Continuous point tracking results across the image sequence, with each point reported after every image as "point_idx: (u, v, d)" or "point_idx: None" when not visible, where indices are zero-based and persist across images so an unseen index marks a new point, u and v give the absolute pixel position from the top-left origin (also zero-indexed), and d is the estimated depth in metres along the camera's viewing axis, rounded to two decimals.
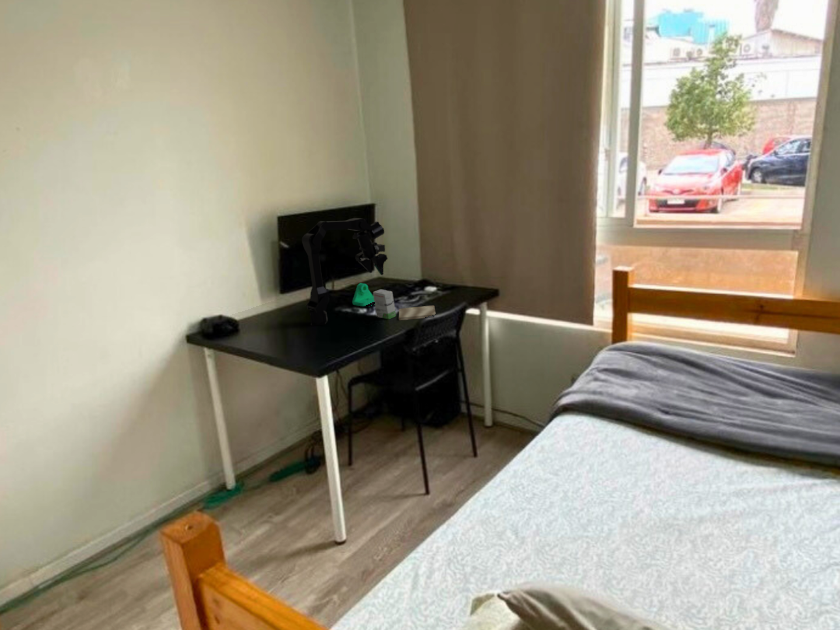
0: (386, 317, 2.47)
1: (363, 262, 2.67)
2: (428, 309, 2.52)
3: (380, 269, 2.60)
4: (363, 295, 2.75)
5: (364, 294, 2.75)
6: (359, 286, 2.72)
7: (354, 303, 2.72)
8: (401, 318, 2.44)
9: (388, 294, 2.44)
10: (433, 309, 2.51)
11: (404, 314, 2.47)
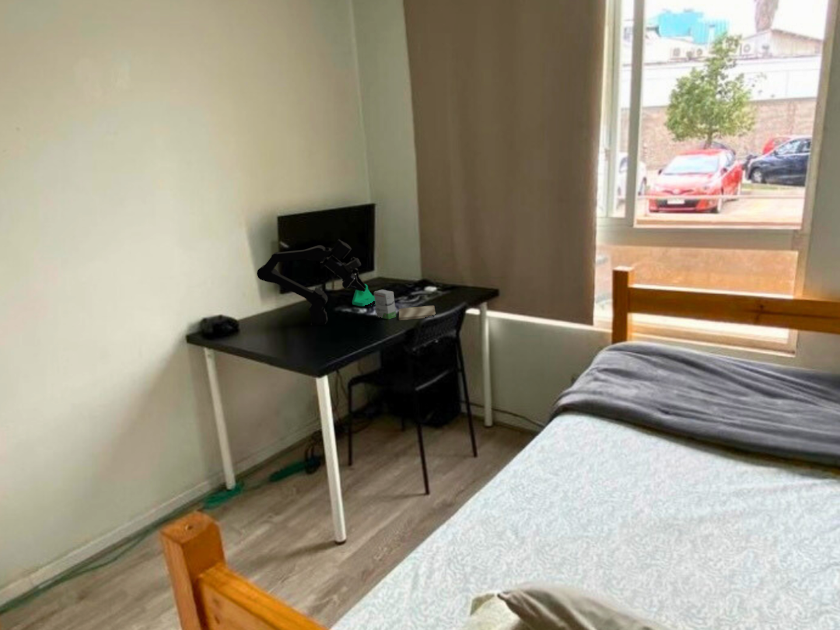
0: (386, 317, 2.47)
1: None
2: (428, 309, 2.52)
3: (357, 288, 2.42)
4: (362, 295, 2.75)
5: (364, 294, 2.76)
6: None
7: (354, 303, 2.72)
8: (401, 318, 2.44)
9: (389, 294, 2.45)
10: (433, 309, 2.51)
11: (404, 314, 2.47)
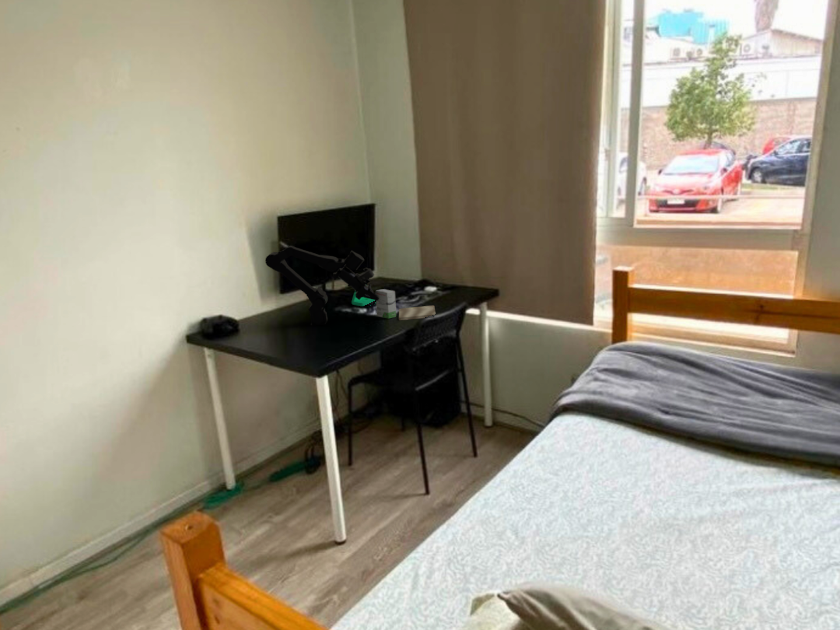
0: (386, 316, 2.47)
1: None
2: (428, 309, 2.52)
3: (371, 297, 2.46)
4: None
5: None
6: None
7: (353, 303, 2.72)
8: (401, 318, 2.44)
9: (390, 293, 2.45)
10: (433, 309, 2.51)
11: (404, 314, 2.47)
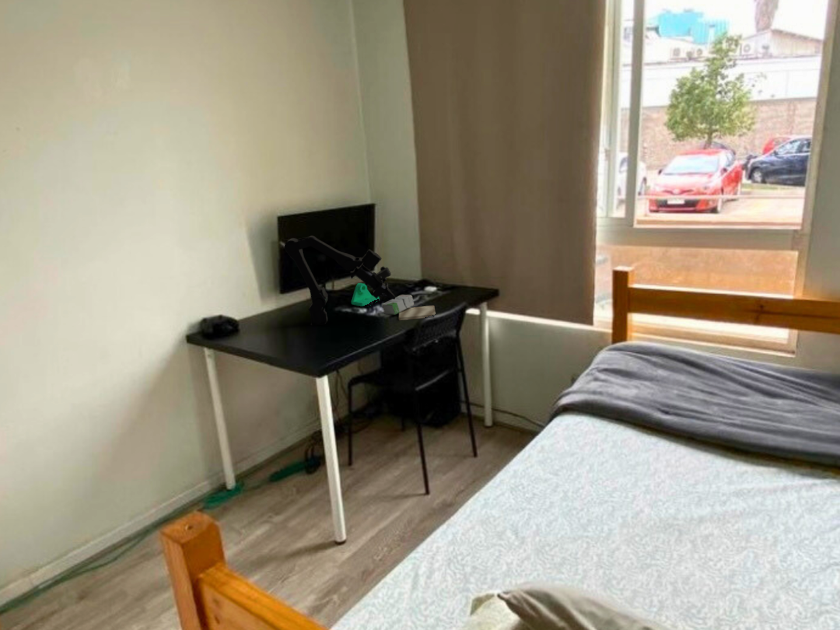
0: (391, 304, 2.49)
1: None
2: (428, 309, 2.52)
3: (388, 295, 2.46)
4: (362, 295, 2.76)
5: (363, 294, 2.76)
6: (358, 286, 2.73)
7: (353, 303, 2.72)
8: (401, 318, 2.44)
9: (412, 300, 2.54)
10: (433, 309, 2.51)
11: (404, 314, 2.47)
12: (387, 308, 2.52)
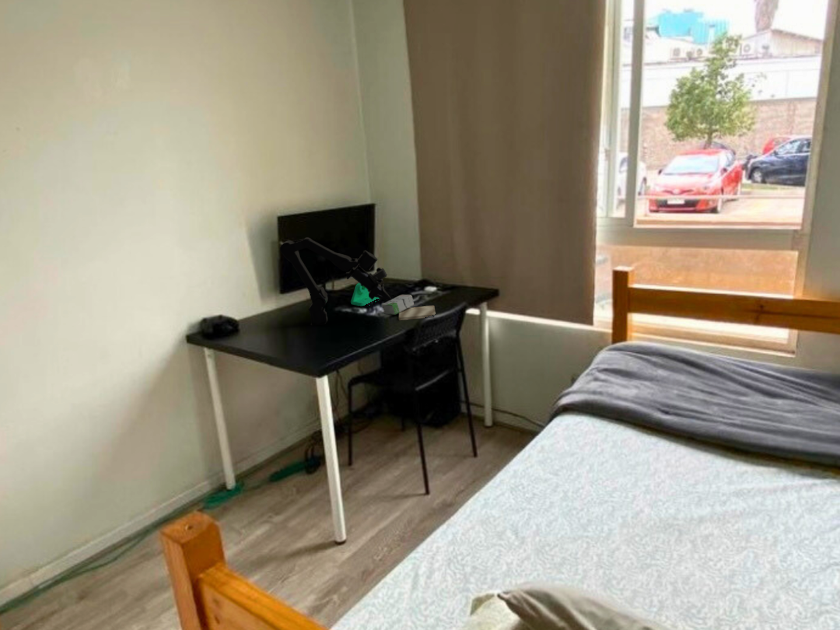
0: (391, 304, 2.49)
1: None
2: (428, 309, 2.52)
3: (383, 296, 2.46)
4: (361, 295, 2.76)
5: (363, 294, 2.76)
6: (358, 286, 2.73)
7: (353, 303, 2.72)
8: (401, 318, 2.44)
9: (411, 300, 2.54)
10: (433, 309, 2.51)
11: (404, 314, 2.47)
12: (387, 308, 2.52)
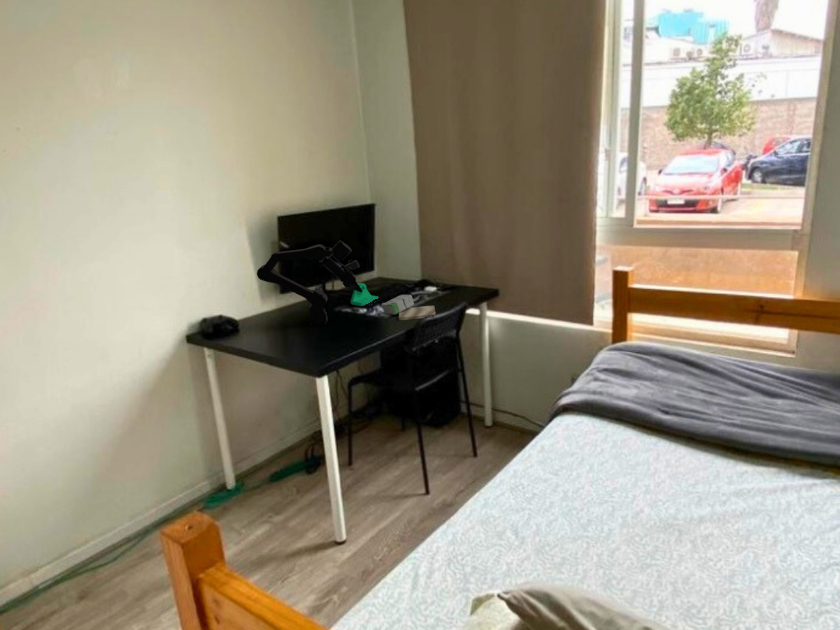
0: (391, 304, 2.49)
1: None
2: (428, 309, 2.52)
3: (355, 288, 2.46)
4: (361, 295, 2.76)
5: (362, 294, 2.76)
6: None
7: (352, 303, 2.73)
8: (401, 318, 2.44)
9: (411, 300, 2.54)
10: (433, 309, 2.51)
11: (404, 314, 2.47)
12: (387, 308, 2.52)
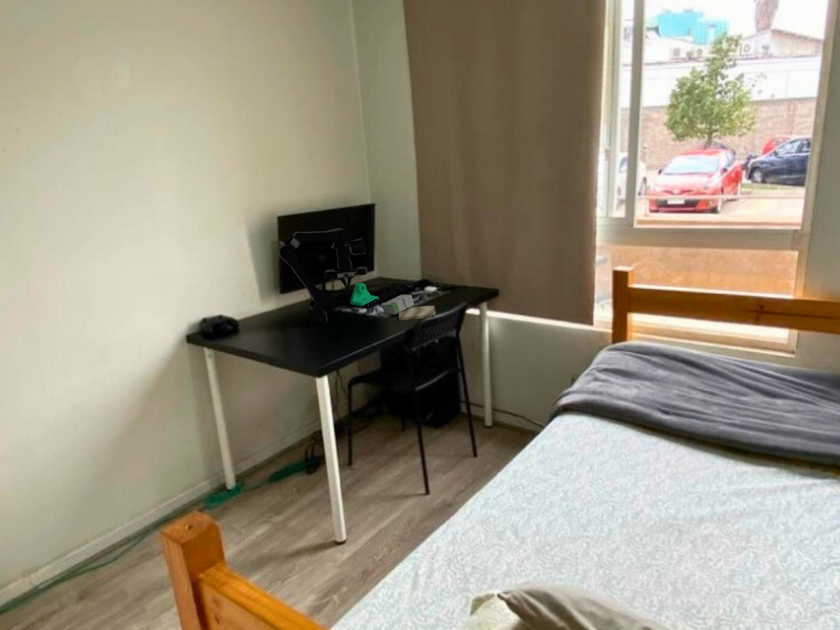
0: (391, 304, 2.49)
1: (344, 278, 2.49)
2: (428, 309, 2.52)
3: None
4: (361, 295, 2.76)
5: (362, 294, 2.76)
6: (357, 286, 2.73)
7: (352, 303, 2.73)
8: (401, 318, 2.44)
9: (411, 300, 2.54)
10: (433, 309, 2.51)
11: (404, 314, 2.47)
12: (387, 308, 2.52)
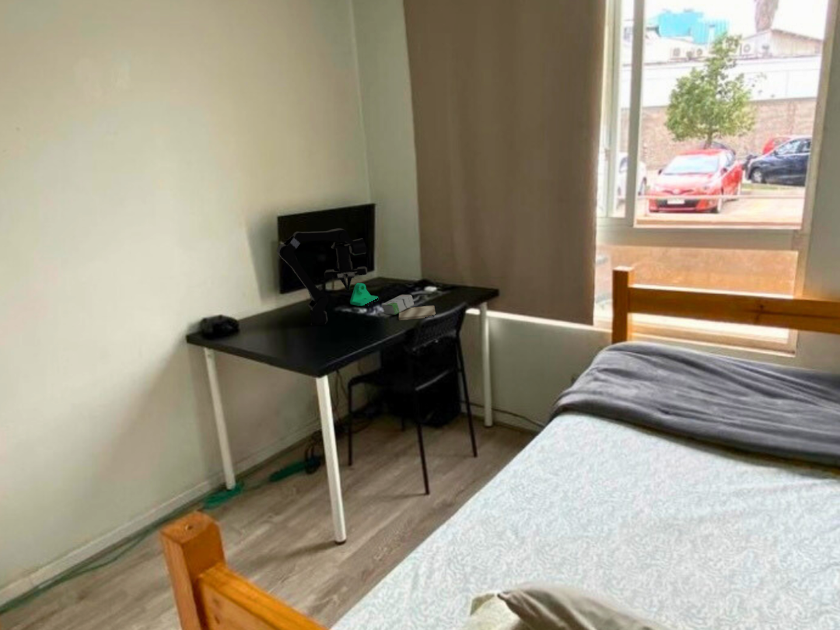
0: (391, 304, 2.49)
1: (344, 278, 2.49)
2: (428, 309, 2.52)
3: None
4: (360, 295, 2.76)
5: (362, 294, 2.77)
6: (357, 286, 2.73)
7: (352, 303, 2.73)
8: (401, 318, 2.44)
9: (411, 300, 2.54)
10: (433, 309, 2.51)
11: (404, 314, 2.47)
12: (387, 308, 2.52)
